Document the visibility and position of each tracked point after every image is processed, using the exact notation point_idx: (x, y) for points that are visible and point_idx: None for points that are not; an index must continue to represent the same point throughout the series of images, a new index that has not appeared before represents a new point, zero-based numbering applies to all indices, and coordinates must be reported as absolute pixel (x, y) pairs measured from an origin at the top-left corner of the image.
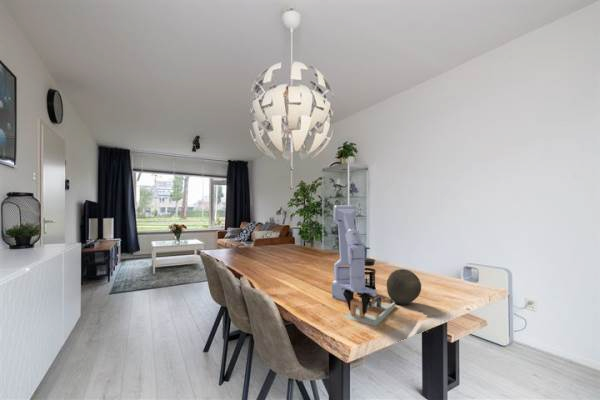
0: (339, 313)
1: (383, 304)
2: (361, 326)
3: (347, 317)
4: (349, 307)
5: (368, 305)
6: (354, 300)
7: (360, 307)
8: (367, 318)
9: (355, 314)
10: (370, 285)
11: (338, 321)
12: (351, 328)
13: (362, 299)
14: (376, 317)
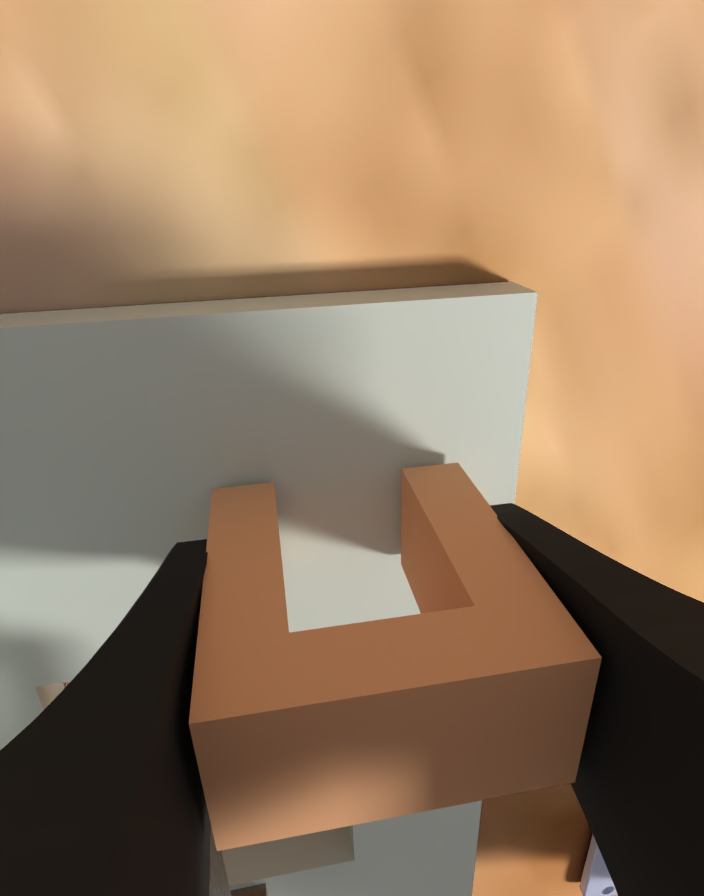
0: (650, 478)
1: None
2: (114, 262)
3: (461, 337)
4: (530, 526)
5: (377, 857)
6: (497, 732)
7: (258, 608)
8: (139, 528)
9: (393, 533)
10: None
11: (568, 185)
12: (213, 28)
13: (63, 840)
14: (46, 650)
